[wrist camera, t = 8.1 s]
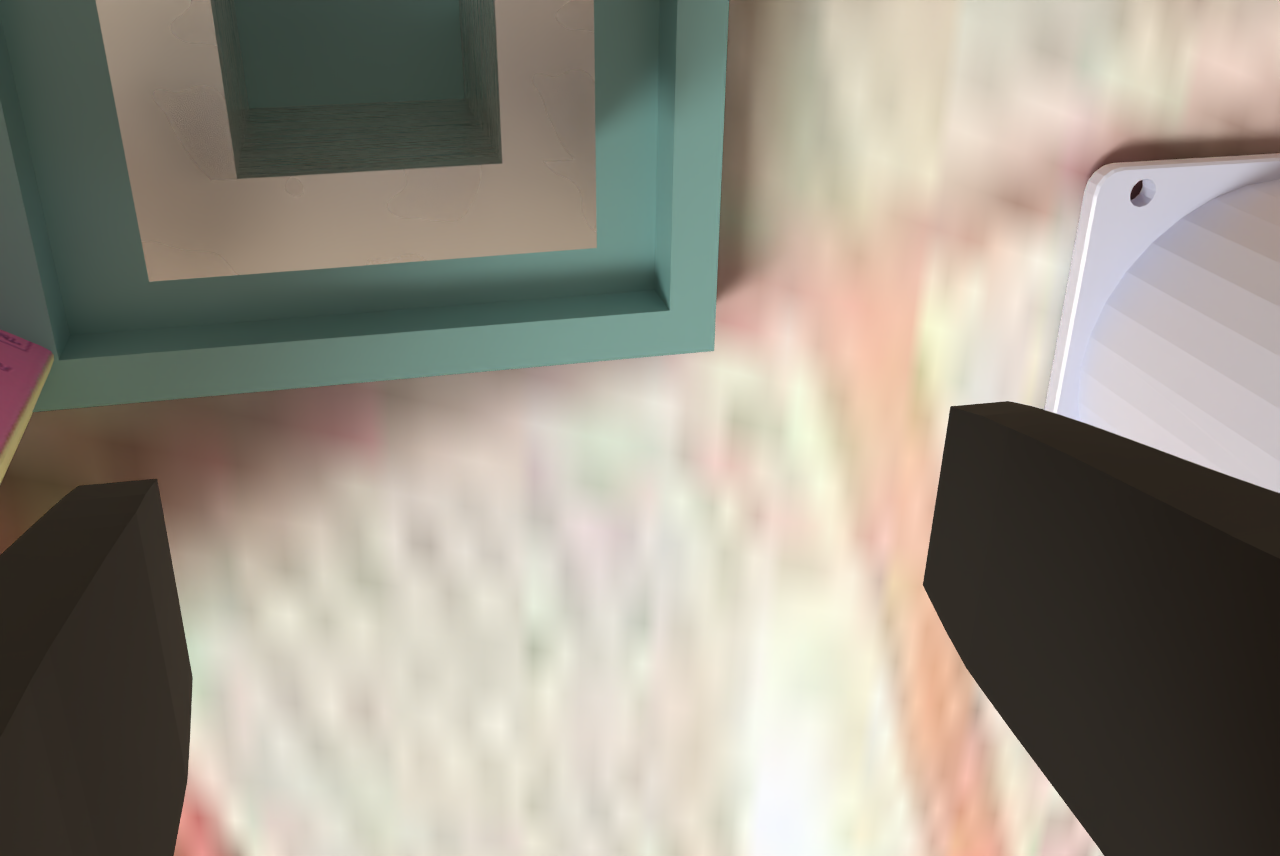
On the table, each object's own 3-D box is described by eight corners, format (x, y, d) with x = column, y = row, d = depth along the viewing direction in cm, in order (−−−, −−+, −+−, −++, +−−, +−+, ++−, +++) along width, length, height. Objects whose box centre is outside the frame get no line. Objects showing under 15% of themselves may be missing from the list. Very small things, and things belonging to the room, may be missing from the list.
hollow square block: (531, -225, 17) (591, -235, 13) (543, 170, 19) (596, 248, 16) (104, -230, 16) (49, -243, 12) (177, 192, 18) (149, 282, 15)
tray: (713, -417, 17) (748, -435, 16) (689, 319, 22) (714, 350, 20) (-168, -468, 14) (-215, -496, 13) (31, 373, 19) (12, 413, 18)
